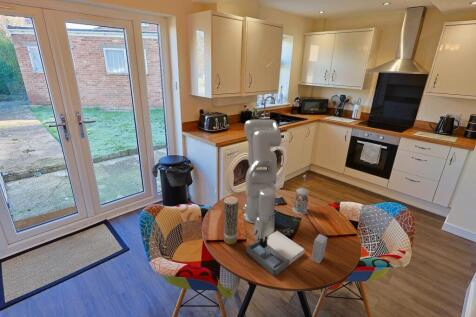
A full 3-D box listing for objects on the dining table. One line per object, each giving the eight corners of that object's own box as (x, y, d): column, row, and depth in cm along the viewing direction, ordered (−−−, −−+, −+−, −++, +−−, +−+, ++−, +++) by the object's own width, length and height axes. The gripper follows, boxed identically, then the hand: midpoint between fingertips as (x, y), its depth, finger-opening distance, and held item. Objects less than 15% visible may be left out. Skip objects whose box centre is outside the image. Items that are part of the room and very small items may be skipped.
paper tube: (239, 239, 131) (240, 198, 122) (232, 246, 125) (233, 205, 116) (228, 234, 134) (229, 195, 125) (221, 242, 128) (221, 200, 119)
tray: (246, 252, 122) (246, 246, 121) (260, 243, 128) (260, 238, 127) (274, 276, 108) (274, 270, 107) (288, 266, 114) (289, 260, 113)
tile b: (259, 245, 122) (258, 249, 123) (251, 249, 119) (251, 253, 120) (266, 251, 119) (266, 255, 120) (259, 255, 116) (258, 259, 117)
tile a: (272, 255, 116) (271, 259, 117) (264, 260, 113) (264, 264, 114) (280, 262, 113) (279, 266, 113) (272, 267, 110) (272, 271, 111)
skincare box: (315, 252, 123) (319, 233, 118) (324, 256, 120) (328, 237, 116) (310, 259, 118) (314, 239, 114) (319, 264, 116) (323, 243, 111)
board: (261, 244, 128) (261, 239, 126) (276, 235, 135) (277, 230, 134) (288, 265, 115) (288, 260, 114) (303, 253, 122) (304, 249, 121)
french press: (309, 214, 154) (315, 179, 144) (291, 214, 154) (295, 178, 145) (306, 206, 163) (311, 172, 154) (288, 205, 163) (292, 171, 154)
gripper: (270, 205, 121) (268, 235, 128) (248, 216, 112) (247, 248, 119) (282, 212, 116) (279, 243, 123) (259, 224, 107) (257, 257, 114)
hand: (263, 245), depth 121 cm, fingers closed
